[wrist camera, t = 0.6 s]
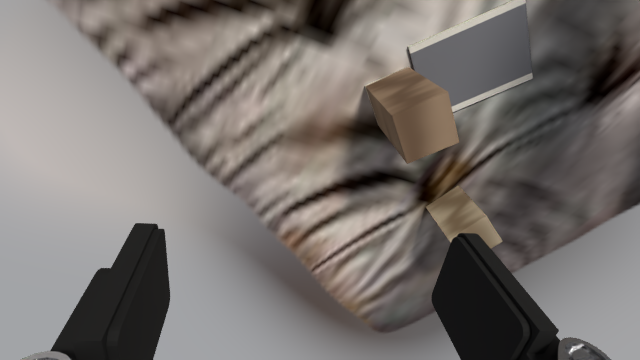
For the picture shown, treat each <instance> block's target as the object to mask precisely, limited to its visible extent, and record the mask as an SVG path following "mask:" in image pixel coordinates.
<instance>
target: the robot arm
mask: <svg viewBox="0 0 640 360" xmlns="http://www.w3.org/2000/svg"><path fill="white" fill-rule="evenodd" d="M169 302H170V288H169V277H168V265H167V253H166V241H165V232H164V229H158V226H157V224H144V223H136V224H135V225H134V227H133V228H132V230H131V232H130V234H129V236H128V238H127V239H126V241H125V243H124V245H123V247H122V249H121V251H120V252H119V254H118V256H117V258H116V260H115V262H114V264H113V265H112V267H111V268H101V269H99V270H98V271H97V272H96V274H95V275H94V277H93V279H92V280H91V282H90V284H89V286H88V287H87V289H86V291H85V292H84V294H83V296H82V297H81V299H80V301H79V303H78V304H77V306H76V308H75V309H74V311H73V313H72V315H71V316H70V318H69V320H68V321H67V323H66V325H65V327H64V328H63V330H62V332H61V333H60V335H59V337H58V339H57V340H56V342H55V344H54V345H53V347H52V349H51V351H47V352H41V353H36V354H33V355H30V356H28V357H25V358H23V359H21V360H153V357H154V354H155V351H156V347H157V344H158V340H159V337H160V334H161V330H162V327H163V324H164V320H165V317H166V314H167V311H168V307H169ZM432 304H433V306H434V308H435V310H436V312H437V314H438V316H439V317H440V319H441V322H442V323H443V325H444V327H445V329H446V331H447V333H448V335H449V337H450V339H451V341H452V343H453V345H454V347H455V349H456V351H457V353H458V355H459V356H460V359H461V360H611V359H610V358H609V357H608V356H607V355H606V354H605V353H603V352H602V351H601V350H599V349H598V348H597V347H595V346H593V345H591V344H590V343H588V342H585V341H583V340H580V339H577V338H571V337H570V338H564V339H562V340H561V341H560V340H559V339H558V338H557V336H556V334H557V333H558V331H559V330H558V329H557V328H556V327H555V325H554V324H553V323H552V322H551V321H550V319H549V318H548V317H547V316H546V315H545V313H544V312H543V311H542V310H541V309H540V307H539V306H538V305H537V304H536V303H535V301H534V300H533V299H532V298H531V297H530V295H529V294H528V293H527V292H526V291H525V289H524V288H523V287H522V286H521V285H520V283H519V282H518V281H517V280H516V279H515V277H514V276H513V275H512V274H511V273H510V271H509V270H508V269H507V268H506V267H505V265H504V264H503V263H502V262H501V261H500V259H499V258H498V257H497V256H496V255H495V253H494V252H493V251H492V250H491V249H490V247H489V246H488V245H487V244H486V243H485V241H484V240H483V239H482V238H481V237H480V236H479V235H478V234H476V233H459V234H458V235H457V237H454V238H453V239H452V242H451V244H450V247H449V250H448V252H447V255H446V258H445V260H444V263H443V266H442V269H441V271H440V274H439V277H438V279H437V282H436V285H435V287H434V290H433V293H432Z"/></svg>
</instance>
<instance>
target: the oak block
mask: <svg viewBox="0 0 640 360" xmlns="http://www.w3.org/2000/svg"><path fill="white" fill-rule="evenodd" d="M426 208H427V210H428V211H429V212H430V214H431V215H432V217H433V218H434V220H435V221H436V222H437V224H438V225H439V227H440V228H441V230H442V231H443V232H444V234H445V235H446V237H447V238H448V240H449V241H450V242H452V239H453V238H454V237H457V235H458V234H459V233H476V234H478V235H479V236H480V237H481V238H482V239H483V240H484V241H485V243H486V244H487V245H488V246H489V247H490V249H491V248H493V247H494V246H496V245H498V244H499V243H501V242H503V241H502V239H501V238H500V236H499V235H498V233H497V232H496V230H495V228H494V227H493V225H492V224H491V222H490V221H489V219H488V217H487V216H486V215H485V214H484V213H483V211H482V210H481V209H480V208H479V207H478V206H477V205H476V204H475V203H474V202H473V201H472V200H471V199H470V197H469V196H468V195H467V194H466V193H465V192H464V191H463V190H462V189H461V188H460V187H459V186H457V187H455V188H454V189H452V190H451V191H449V192H448V193H446V194H445V195H443V196H442V197H440V198H439V199H437V200H436V201H434V202H432V203H431V204H429V205H428V206H426Z"/></svg>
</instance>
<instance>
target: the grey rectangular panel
mask: <svg viewBox="0 0 640 360" xmlns="http://www.w3.org/2000/svg"><path fill="white" fill-rule="evenodd" d="M408 50H409V53H410V57H411V61H412V65H413V69H414V71H416V72H417V73H419V74H420V75H422V76H424V77H425V78H427V79H428V80H430V81H432V82H433V83H435V84H436V85H438V86H440V87H441V88H443V89H444V90H446V91H448V94H449V98H450V103H451V107H452V112H455V111H457V110H459V109H462V108H464V107H466V106H469V105H471V104H474V103H476V102H478V101H481V100H483V99H485V98H488V97H490V96H492V95H495V94H497V93H500V92H502V91H504V90H507V89H509V88H511V87H514V86H516V85H519V84H521V83H523V82H526V81H528V80H530V79H533V74H532V65H531V54H530V43H529V33H528V22H527V11H526V0H513V1H510V2H508V3H506V4H504V5H501V6H499V7H497V8H494V9H492V10H490V11H488V12H485V13H483V14H481V15H479V16H476V17H474V18H472V19H470V20H467V21H465V22H463V23H461V24H458V25H456V26H454V27H451V28H449V29H447V30H445V31H442V32H440V33H438V34H436V35H433V36H431V37H429V38H427V39H424V40H422V41H420V42H418V43H415V44H413V45H411V46H409V47H408Z"/></svg>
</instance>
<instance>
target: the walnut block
mask: <svg viewBox="0 0 640 360" xmlns="http://www.w3.org/2000/svg"><path fill="white" fill-rule="evenodd" d="M365 88H366V91H367V94H368V97H369V100H370V103H371V106H372V109H373V111H374V114H375V117H376V120H377V123H378V126H379V127H380V128H381V130H382V131H383V132H384V134H385V135H386V136H387V138H388V139H389V140H390V142H391V143H392V144H393V146H394V147H395V148H396V150H397V151H398V152H399V154H400V155H401V156H402V158H403V159H404V160H405V162H406V163H407V164H408V163H410V162H413V161H415V160H417V159H420V158H422V157H425V156H427V155H430V154H432V153H434V152H437V151H439V150H442V149H444V148H446V147H449V146H451V145H454V144H456V143H459V139H458V134H457V130H456V125H455V121H454V116H453V112H452V107H451V103H450V98H449V94H448V91H446V90H444V89H443V88H441V87H440V86H438V85H436V84H435V83H433V82H432V81H430V80H428V79H427V78H425V77H424V76H422V75H420V74H419V73H417V72H416V71H414V70H412V69H411V68H409V67H406V68H404V69H402V70H399V71H397V72H395V73H393V74H390V75H388V76H386V77H383V78H381V79H379V80H376V81H374V82H372V83H370V84H367V85H365Z"/></svg>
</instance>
